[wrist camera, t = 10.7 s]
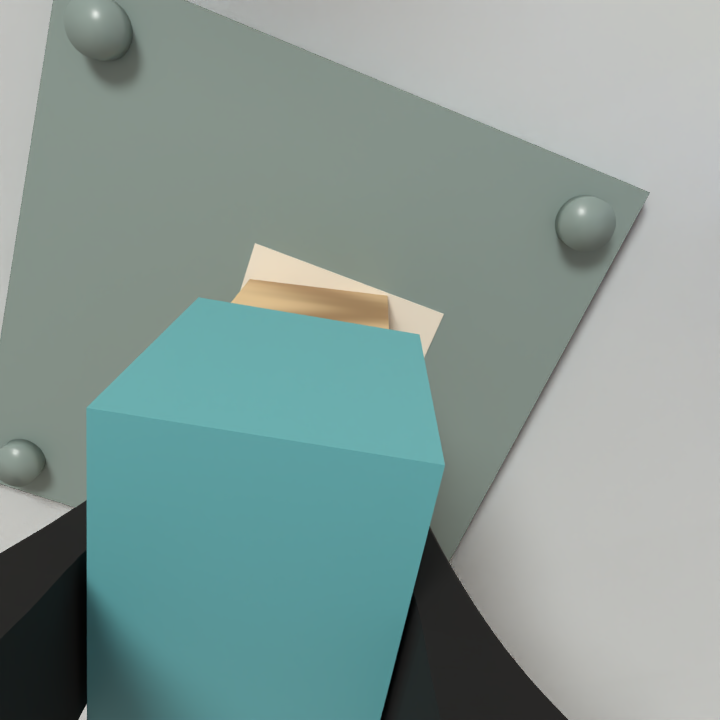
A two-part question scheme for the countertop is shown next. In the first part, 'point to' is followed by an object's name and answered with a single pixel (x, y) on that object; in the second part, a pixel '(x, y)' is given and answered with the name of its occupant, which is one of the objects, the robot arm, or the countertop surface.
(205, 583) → the teal brick
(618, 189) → the baseplate
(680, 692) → the countertop surface
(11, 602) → the robot arm
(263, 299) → the honey-wood brick
